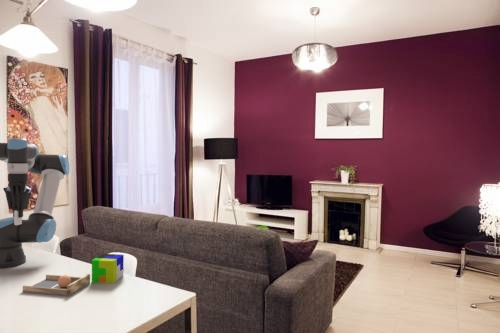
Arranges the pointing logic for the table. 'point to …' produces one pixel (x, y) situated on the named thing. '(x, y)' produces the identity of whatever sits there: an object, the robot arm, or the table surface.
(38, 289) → the divided wooden tray
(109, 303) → the table surface
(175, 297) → the table surface
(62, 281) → the ball
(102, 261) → the puzzle toy
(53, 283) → the tray
